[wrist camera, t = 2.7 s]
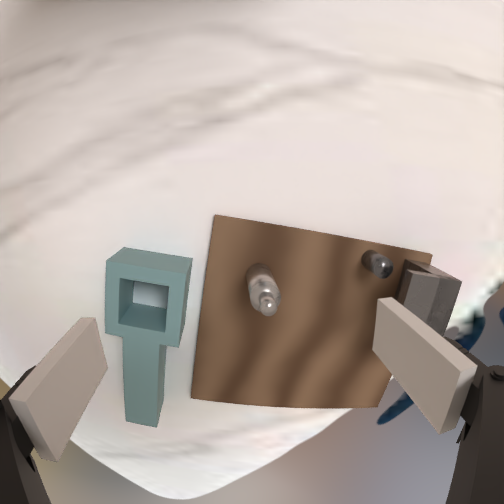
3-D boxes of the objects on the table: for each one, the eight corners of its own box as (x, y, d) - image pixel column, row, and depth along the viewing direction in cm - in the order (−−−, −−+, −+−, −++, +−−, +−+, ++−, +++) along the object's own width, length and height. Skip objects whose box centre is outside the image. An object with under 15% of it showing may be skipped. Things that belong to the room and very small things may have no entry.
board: (191, 395, 35) (190, 398, 34) (215, 214, 30) (214, 215, 29) (375, 404, 37) (377, 407, 37) (429, 253, 33) (432, 254, 32)
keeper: (343, 323, 33) (367, 355, 26) (363, 248, 31) (395, 267, 25) (405, 327, 34) (435, 355, 27) (426, 260, 32) (462, 278, 26)
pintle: (244, 283, 32) (249, 321, 23) (248, 259, 31) (255, 291, 23) (267, 286, 32) (281, 325, 24) (272, 263, 32) (288, 295, 23)
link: (123, 247, 30) (106, 260, 25) (192, 258, 31) (186, 274, 26) (121, 391, 34) (110, 417, 29) (177, 402, 35) (172, 430, 30)
